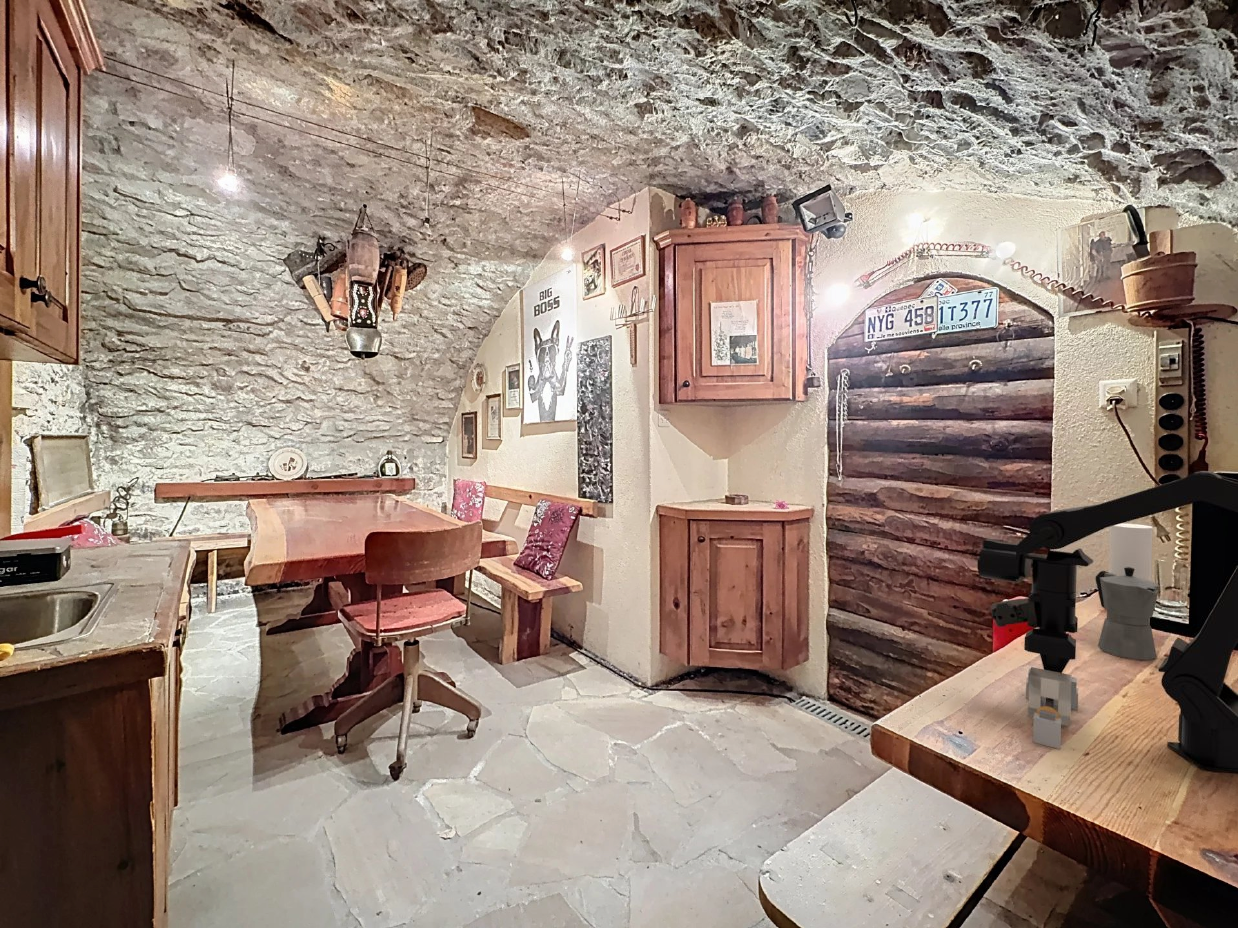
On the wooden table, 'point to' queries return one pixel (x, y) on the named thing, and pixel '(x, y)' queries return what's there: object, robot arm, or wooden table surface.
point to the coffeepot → (1127, 615)
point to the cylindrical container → (1131, 550)
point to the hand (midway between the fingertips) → (1051, 682)
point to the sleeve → (1050, 692)
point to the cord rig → (1050, 718)
